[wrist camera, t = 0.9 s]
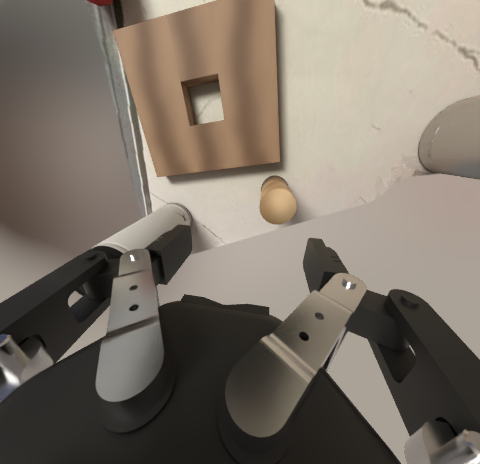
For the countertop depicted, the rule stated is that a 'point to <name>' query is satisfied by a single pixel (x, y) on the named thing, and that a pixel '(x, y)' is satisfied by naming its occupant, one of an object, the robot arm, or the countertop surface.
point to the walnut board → (200, 72)
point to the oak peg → (277, 201)
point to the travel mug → (143, 232)
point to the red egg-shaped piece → (101, 2)
